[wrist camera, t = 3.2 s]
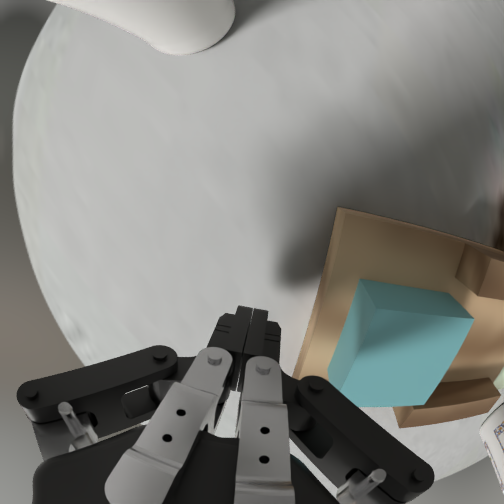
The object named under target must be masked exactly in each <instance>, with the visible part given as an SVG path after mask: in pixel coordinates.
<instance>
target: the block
mask: <svg viewBox="0 0 504 504" xmlns="http://www.w3.org/2000/svg"><path fill="white" fill-rule="evenodd" d="M474 320H475V319H474V318H473V317H472V316H471V315H470V314H469V313H468V311H467V310H466V309H465V308H464V307H463V306H462V305H461V304H460V303H459V302H458V301H457V300H456V299H454V298H453V297H452V296H451V295H450V294H449V293H446V292H439V291H433V290H427V289H421V288H414V287H408V286H402V285H396V284H390V283H384V282H378V281H372V280H365V279H359V282H358V285H357V288H356V291H355V295H354V298H353V301H352V304H351V307H350V310H349V313H348V316H347V319H346V321H345V324H344V327H343V330H342V333H341V335H340V338H339V341H338V343H337V346H336V348H335V351H334V354H333V356H332V359H331V361H330V363H329V366H328V368H327V371H328V378H329V382H330V383H331V384H332V385H333V386H334V387H335V388H336V389H338V390H339V391H340V392H341V393H342V394H343V395H344V396H346V397H347V398H348V399H349V400H350V401H351V402H352V403H354V404H355V405H356V406H357V407H397V406H414V405H424V404H425V403H426V401H427V400H428V398H429V397H430V396H431V394H432V393H433V391H434V390H435V388H436V387H437V385H438V384H439V382H440V381H441V379H442V378H443V376H444V375H445V373H446V371H447V370H448V368H449V367H450V365H451V363H452V361H453V360H454V358H455V356H456V355H457V353H458V351H459V349H460V347H461V345H462V344H463V342H464V340H465V338H466V336H467V334H468V332H469V330H470V328H471V326H472V324H473V322H474Z"/></svg>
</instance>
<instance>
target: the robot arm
mask: <svg viewBox="0 0 504 504" xmlns="http://www.w3.org/2000/svg"><path fill="white" fill-rule="evenodd" d="M252 311H253V308H250V307H244V306H238V308H237V311H236V314H235V315H234V314H228V313H225V314H224V315H223V316H221V317H220V318H219V320H218V322H217V325H216V327H215V330H214V332H213V334H212V336H211V338H210V341H209V343H208V345H207V348H205V349H203V350H201V351H200V352H199V353H198V355H197V356H194V357H177V354H176V352H175V351H174V350H173V349H172V348H170V347H167V346H162V345H157V346H152V347H149V348H146V349H143V350H140V351H136V352H133V353H130V354H127V355H124V356H120V357H117V358H114V359H110V360H107V361H104V362H100V363H97V364H93V365H90V366H86V367H83V368H79V369H75V370H72V371H68V372H64V373H60V374H57V375H52V376H48V377H44V378H40V379H36V380H31V381H27V382H25V383H24V384H22V385H21V386H20V387H19V389H18V391H17V400H18V402H19V404H20V405H21V407H22V409H23V410H24V412H25V413H26V416H27V418H28V419H29V420H30V422H31V423H32V425H33V429H34V433H35V435H36V439H37V443H38V445H39V448H40V452H41V454H42V457H43V460H44V462H42V463H41V464H40V465H39V466H38V468H37V469H36V471H35V474H34V477H33V502H32V504H407V503H408V502H410V501H411V500H413V499H414V498H416V497H417V496H419V495H420V494H422V493H423V492H425V491H426V490H427V489H429V488H430V487H431V486H432V484H433V482H434V471H433V469H432V467H431V466H430V465H429V464H427V463H426V462H425V461H424V460H422V459H421V458H420V457H418V456H417V455H416V454H414V453H413V452H412V451H411V450H409V449H408V448H407V447H406V446H404V445H403V444H402V443H401V442H399V441H398V440H397V439H396V438H394V437H393V436H392V435H391V434H389V433H388V432H387V431H386V430H385V429H383V428H382V427H381V426H380V425H378V424H377V423H376V422H375V421H374V420H372V419H371V418H370V417H369V416H368V415H367V414H365V413H364V412H363V411H362V410H361V409H359V408H358V407H357V406H356V405H355V404H354V403H352V402H351V401H350V400H349V399H348V398H347V397H346V396H344V395H343V394H342V393H341V392H340V391H339V390H338V389H336V388H335V387H334V386H333V385H332V384H331V383H330V382H329V381H327V380H326V379H324V378H322V377H319V376H314V375H310V376H305V377H303V378H302V379H301V380H298V379H295V378H292V377H290V376H288V375H287V374H285V373H284V372H283V371H282V369H281V367H280V365H279V358H280V341H281V328H280V326H279V324H278V323H277V322H272V321H267V318H268V311H267V310H261V309H255V308H254V311H253V315H252ZM251 317H252V319H251ZM250 323H251V324H250ZM240 370H241V371H240ZM239 374H240V377H239ZM238 378H239V382H238ZM237 383H238V388H237V391H238V392H241V394H240V400H239V405H238V413H237V421H236V430H235V438H221V437H217V436H215V435H214V434H215V431H216V429H217V426H218V424H219V421H220V419H221V416H222V413H223V411H224V408H225V406H226V402H227V399H228V397H229V394H230V390H232V391H236V387H237ZM146 385H147V386H146ZM143 386H146V387H143ZM141 387H143V388H141ZM138 388H140V389H138ZM135 389H138V390H135ZM132 390H135V391H132ZM130 391H132V392H130ZM127 392H129V393H127ZM125 393H127V394H125ZM149 419H150V421H149V423H148V424H147V425H142V426H139V427H135V428H133V429H130V430H128V431H126V432H123V433H121V434H119V435H116V436H114V437H111V438H108V439H106V440H103V441H100V442H98V443H97V439H98V438H101V437H104V436H107V435H109V434H112V433H115V432H118V431H121V430H123V429H126V428H129V427H131V426H134V425H137V424H139V423H142V422H144V421H147V420H149ZM289 438H290V439H291V440H292V441H293V442H294V443H295V444H296V446H297V447H298V448H299V449H300V450H301V451H302V452H303V453H304V454H305V455H306V456H307V457H308V459H309V460H310V461H311V462H312V463H313V464H314V465H315V466H316V467H317V468H318V469H319V470H320V471H321V472H322V473H323V474H324V475H325V476H326V477H327V478H328V479H329V480H330V481H331V482H332V483H333V484H334V485H335V486H336V487H337V488H338V491H337V495H336V497H337V500H336V499H335V497H334V496H333V495H332V494H331V493H330V492H329V491H328V490H327V489H326V488H325V487H324V486H323V485H322V484H321V482H320V481H319V480H318V479H317V478H316V477H315V476H314V475H313V474H312V472H311V471H310V470H309V469H308V468H307V467H306V466H305V465H304V463H302V462H301V461H300V460H299V459H298V458H296V457H295V456H293V455H292V454H290V447H289Z"/></svg>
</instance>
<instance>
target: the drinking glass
mask: <svg viewBox="0 0 504 504" xmlns="http://www.w3.org/2000/svg"><path fill="white" fill-rule="evenodd" d="M47 1H51V2H54V3H57V4H60V5H63V6H66V7H69V8H72V9H75V10H78V11H80V12H83V13H86V14H88V15H91V16H93V17H96V18H98V19H100V20H103V21H105V22H107V23H109V24H112V25H114V26H116V27H118V28H120V29H122V30H124V31H126V32H128V33H130V34H132V35H134V36H136V37H138V38H140V39H142V40H143V41H145V42H146V43H148V44H149V45H150V46H152V47H153V48H155V49H156V50H158V51H160V52H162V53H165V54H168V55H176V56H180V55H189V54H194V53H197V52H200V51H202V50H205V49H207V48H209V47H211V46H212V45H214V44H215V43H217V42H218V41H219V40H220V39H222V38H223V37H224V36H225V35H226V33H227V32H228V31H229V29H230V28H231V26H232V24H233V22H234V18H235V5H234V2H233V0H47Z"/></svg>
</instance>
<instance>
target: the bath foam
mask: <svg viewBox="0 0 504 504" xmlns="http://www.w3.org/2000/svg"><path fill="white" fill-rule="evenodd" d="M480 436H481V438H482V440H483V442H484V445H485V447H486V450H487V452H488V454H489V457H490V459H491V461H492V464H493V466H494V469H495V472H496V475H497V477H498V480H499V483H500V486H501V489H502V491H503V493H504V404H503V405H501V406H500V407H499V408H498V409H496V410H495V411H494V412H493V413H492V414H491V415H490V416H489V417H488V418H487V419H486V421H485V422H484V423H483V425H482V426H481V428H480Z"/></svg>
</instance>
